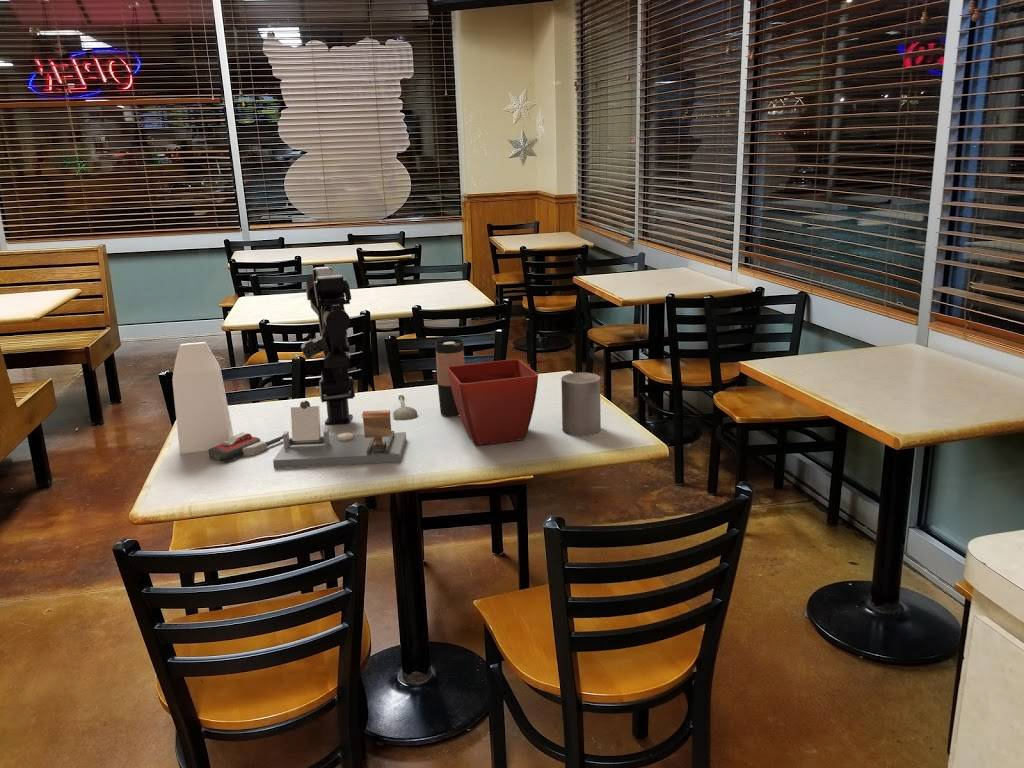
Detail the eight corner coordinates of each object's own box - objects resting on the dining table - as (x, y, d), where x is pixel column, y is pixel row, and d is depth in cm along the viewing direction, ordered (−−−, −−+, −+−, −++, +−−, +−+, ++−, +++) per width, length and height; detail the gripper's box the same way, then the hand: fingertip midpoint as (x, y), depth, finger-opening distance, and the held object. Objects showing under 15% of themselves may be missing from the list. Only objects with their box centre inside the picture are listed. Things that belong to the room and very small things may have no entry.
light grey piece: (291, 445, 201) (289, 401, 201) (324, 443, 202) (322, 399, 202) (288, 445, 199) (286, 401, 199) (322, 444, 199) (320, 399, 199)
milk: (180, 453, 205) (163, 350, 199) (184, 439, 216) (169, 341, 209) (231, 447, 208) (216, 345, 202) (233, 433, 219) (219, 336, 212)
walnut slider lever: (367, 446, 198) (364, 410, 195) (393, 445, 198) (390, 408, 195) (365, 452, 194) (361, 415, 191) (391, 450, 194) (388, 413, 191)
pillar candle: (560, 425, 215) (558, 368, 210) (597, 422, 215) (596, 366, 211) (565, 437, 205) (563, 378, 201) (604, 434, 206) (603, 376, 202)
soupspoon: (393, 425, 224) (418, 424, 225) (393, 413, 223) (417, 412, 224) (390, 400, 245) (413, 399, 246) (390, 389, 244) (412, 388, 245)
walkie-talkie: (228, 467, 196) (291, 441, 212) (226, 449, 194) (289, 424, 211) (203, 461, 200) (266, 436, 216) (201, 444, 199) (264, 420, 215)
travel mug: (442, 408, 233) (437, 338, 228) (469, 408, 232) (465, 338, 227) (437, 417, 225) (432, 344, 220) (465, 416, 225) (461, 344, 219)
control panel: (289, 445, 208) (287, 424, 206) (406, 439, 208) (404, 418, 207) (274, 468, 192) (271, 445, 191) (400, 462, 193) (398, 439, 191)
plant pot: (450, 428, 215) (446, 365, 211) (521, 420, 220) (519, 358, 215) (464, 452, 198) (460, 383, 193) (541, 442, 202) (539, 375, 197)
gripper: (302, 321, 214) (308, 380, 218) (299, 336, 196) (306, 400, 200) (346, 318, 216) (351, 376, 220) (347, 332, 198) (353, 395, 202)
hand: (340, 386), depth 211 cm, fingers closed
